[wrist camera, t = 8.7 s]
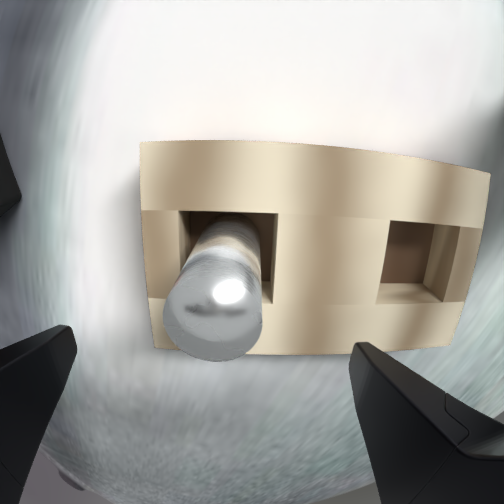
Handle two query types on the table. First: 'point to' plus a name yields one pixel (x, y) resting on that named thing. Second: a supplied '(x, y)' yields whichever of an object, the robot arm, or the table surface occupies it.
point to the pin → (218, 292)
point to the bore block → (321, 238)
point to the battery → (7, 183)
